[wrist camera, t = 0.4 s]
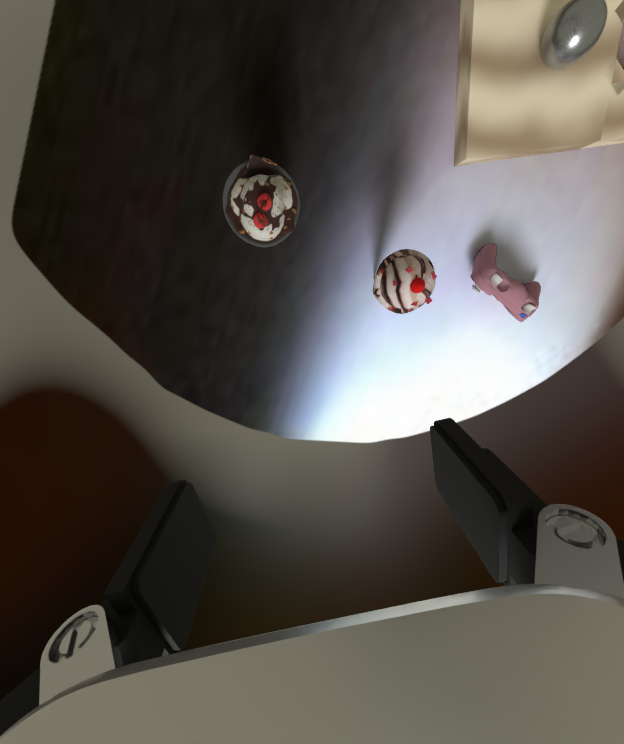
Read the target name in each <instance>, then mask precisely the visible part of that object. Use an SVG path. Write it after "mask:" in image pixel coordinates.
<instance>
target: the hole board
mask: <svg viewBox="0 0 624 744" xmlns="http://www.w3.org/2000/svg"><path fill="white" fill-rule="evenodd" d="M569 1H571V0H461V5H460V31H459V56H458V81H457V107H456V132H455V158H454V166H460V165H467V164H475V163H482V162H489V161H496V160H503V159H510V158H518V157H525V156H532V155H539V154H546V153H553V152H561V151H568V150H575V149H582V148H589V147H596V146H603V145H611V144H618V143H624V70H623V68H622V66H621V65H620V63H619V62H618V60H617V58H616V57H617V52H618V46H619V41H620V36H621V30H622V25H623V23H624V0H605V1H606V4H607V9H608V14H607V20H606V24H605V27H604V30H603V32H602V34H601V36H600V38H599V39H598V41H597V43H596V44H595V45H594V47H593V48H592V49H591V50H590V51H589V53H588V54H587V55H586V56H584V57H583V58H582V59H581V60H580V61H578V62H577V63H575V64H574V65H572V66H570V67H567V68H565V69H560V70H554V69H550V68H548V67H547V66H546V65H545V64H544V63H543V61H542V58H541V43H542V39H543V36H544V33H545V31H546V29H547V27H548V25H549V23H550V22H551V20H552V19H553V17H554V16H555V15H556V14H557V12H558V11H559V10H560V9H561V8H562V7H563V6H564V5H566V4H567V3H568V2H569Z"/></svg>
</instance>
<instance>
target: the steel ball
mask: <svg viewBox="0 0 624 744" xmlns="http://www.w3.org/2000/svg"><path fill="white" fill-rule="evenodd" d="M607 14H608V9H607V4H606V1H605V0H571V1H569V2H568V3H567V4H566V5H564V6H563V7H562V8H561V9H560V10H559V11H558V12H557V14H556V15H555V16H554V17H553V19H552V20H551V22H550V23H549V25H548V27H547V29H546V31H545V33H544V36H543V39H542V43H541V58H542V61H543V63H544V64H545V65H546V66H547V67H548V68H550V69H554V70H560V69H565V68H567V67H570V66H572V65H574V64H575V63H577V62H578V61H580V60H581V59H582V58H583V57H584V56H586V55H587V54H588V53H589V51H590V50H591V49H592V48H593V47H594V45H595V44H596V43H597V41H598V39H599V38H600V36H601V34H602V32H603V30H604V27H605V24H606V20H607Z"/></svg>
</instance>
